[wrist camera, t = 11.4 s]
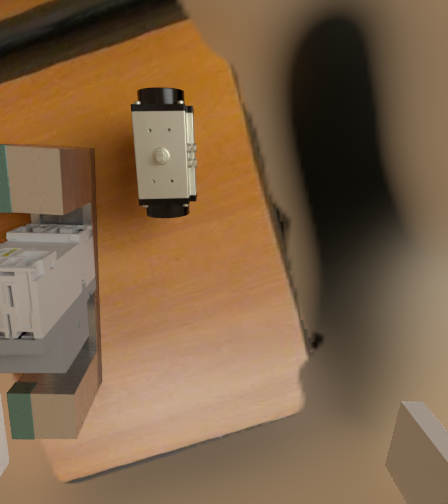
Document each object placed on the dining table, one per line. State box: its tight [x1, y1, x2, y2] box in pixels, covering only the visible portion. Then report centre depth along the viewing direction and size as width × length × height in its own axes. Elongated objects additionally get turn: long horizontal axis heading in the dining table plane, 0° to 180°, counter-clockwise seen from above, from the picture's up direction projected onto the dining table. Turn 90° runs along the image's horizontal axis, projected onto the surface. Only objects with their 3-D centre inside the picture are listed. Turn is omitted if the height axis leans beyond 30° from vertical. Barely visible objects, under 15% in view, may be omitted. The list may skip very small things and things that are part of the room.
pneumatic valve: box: [131, 88, 197, 218], centre depth 37 cm, size 6×12×12 cm, turn 1°
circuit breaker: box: [0, 224, 96, 373], centre depth 37 cm, size 8×14×15 cm, turn 178°
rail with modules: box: [0, 144, 102, 439], centre depth 41 cm, size 32×7×11 cm, turn 176°
